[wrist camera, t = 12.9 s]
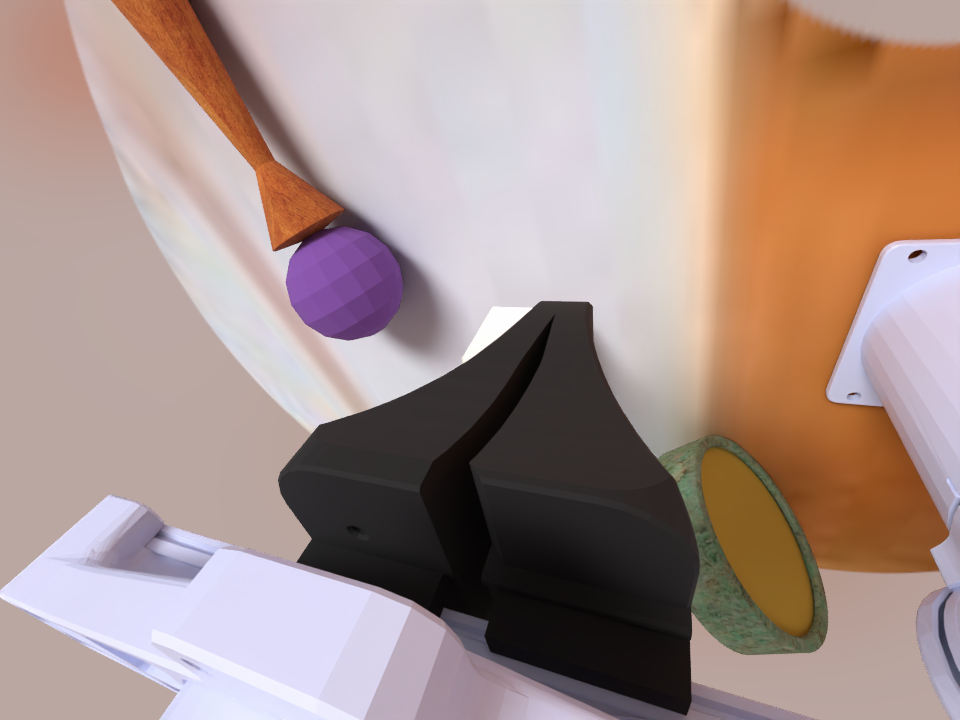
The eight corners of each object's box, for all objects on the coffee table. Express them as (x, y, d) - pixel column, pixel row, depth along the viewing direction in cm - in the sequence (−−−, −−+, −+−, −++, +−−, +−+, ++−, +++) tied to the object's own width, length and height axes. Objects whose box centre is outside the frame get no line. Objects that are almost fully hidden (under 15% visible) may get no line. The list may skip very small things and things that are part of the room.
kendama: (56, -179, 14) (398, 334, 21) (198, -102, 19) (436, 290, 26) (-14, -45, 16) (313, 374, 23) (129, -8, 21) (362, 327, 28)
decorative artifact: (802, 502, 26) (853, 698, 18) (696, 529, 30) (704, 694, 23) (691, 400, 24) (699, 574, 17) (596, 445, 29) (571, 596, 21)
